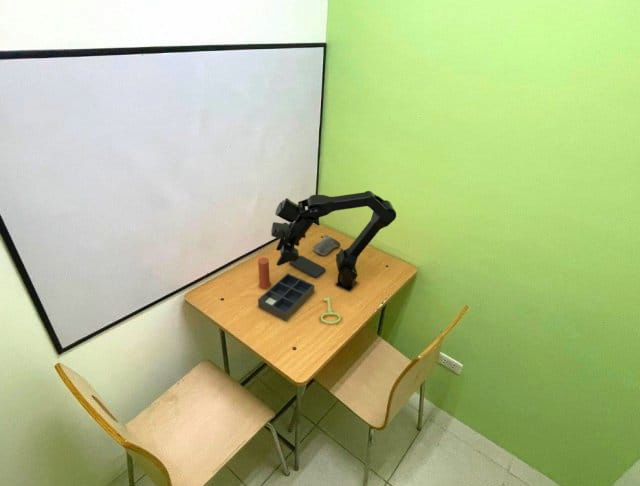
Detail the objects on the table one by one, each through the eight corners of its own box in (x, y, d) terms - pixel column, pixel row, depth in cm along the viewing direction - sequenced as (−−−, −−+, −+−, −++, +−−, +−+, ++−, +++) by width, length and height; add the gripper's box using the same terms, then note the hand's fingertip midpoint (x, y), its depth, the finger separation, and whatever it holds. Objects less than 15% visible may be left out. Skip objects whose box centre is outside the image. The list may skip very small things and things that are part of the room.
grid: (313, 292, 146) (314, 285, 143) (285, 321, 133) (285, 313, 131) (287, 280, 151) (287, 273, 148) (258, 307, 138) (257, 299, 135)
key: (328, 299, 143) (329, 295, 142) (342, 322, 134) (343, 318, 133) (311, 304, 141) (311, 300, 139) (324, 327, 132) (324, 323, 131)
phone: (300, 254, 163) (326, 268, 156) (300, 256, 164) (326, 270, 157) (288, 262, 159) (315, 277, 151) (288, 263, 159) (315, 278, 152)
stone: (309, 252, 171) (323, 262, 165) (306, 244, 167) (321, 254, 161) (328, 238, 175) (343, 247, 169) (326, 230, 172) (341, 238, 165)
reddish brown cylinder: (271, 284, 148) (270, 259, 140) (265, 290, 145) (264, 265, 138) (264, 280, 150) (262, 256, 142) (257, 286, 147) (255, 261, 139)
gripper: (280, 203, 135) (258, 234, 142) (281, 231, 120) (257, 264, 128) (305, 217, 139) (283, 246, 147) (309, 245, 125) (285, 276, 133)
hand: (277, 257), depth 138 cm, fingers open, 9 cm apart
